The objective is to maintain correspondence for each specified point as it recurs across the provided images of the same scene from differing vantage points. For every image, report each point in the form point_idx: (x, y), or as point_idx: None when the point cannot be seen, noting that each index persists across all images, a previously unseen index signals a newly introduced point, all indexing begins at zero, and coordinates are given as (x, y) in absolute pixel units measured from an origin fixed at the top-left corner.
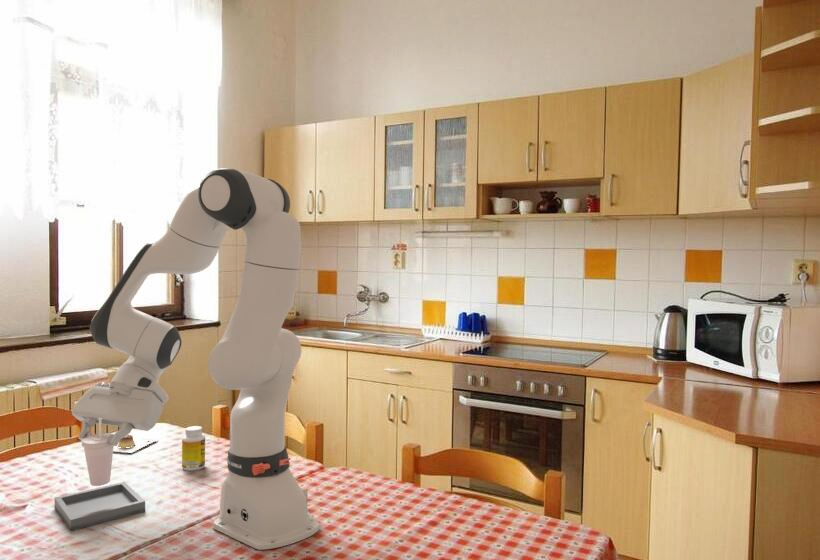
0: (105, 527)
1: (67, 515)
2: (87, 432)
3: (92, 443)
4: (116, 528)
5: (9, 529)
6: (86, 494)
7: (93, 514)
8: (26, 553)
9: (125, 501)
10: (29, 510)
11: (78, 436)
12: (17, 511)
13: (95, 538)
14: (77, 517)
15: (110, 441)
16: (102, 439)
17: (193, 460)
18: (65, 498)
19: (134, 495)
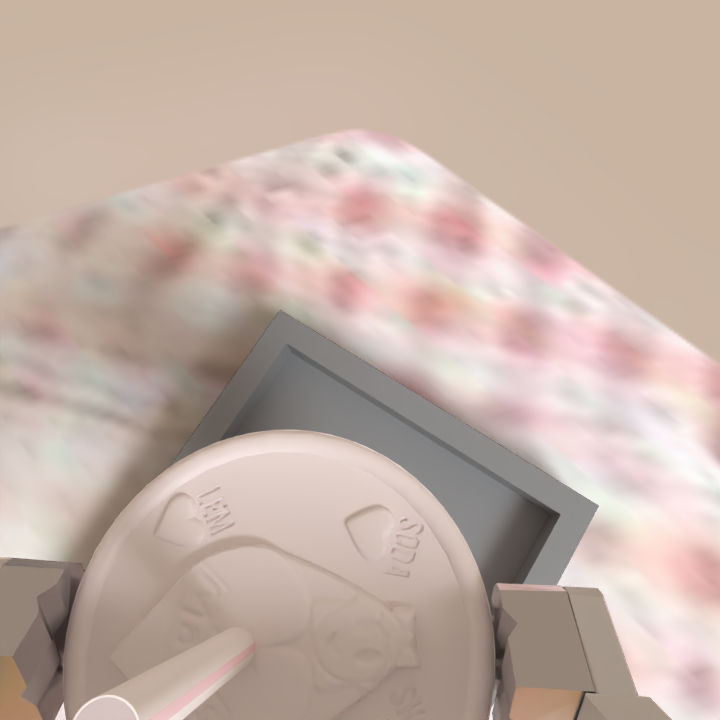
0: (164, 404)
1: (337, 345)
2: (509, 681)
3: (213, 445)
4: (108, 411)
5: (559, 262)
6: None
7: (221, 395)
8: (306, 140)
9: None
10: (671, 442)
11: (589, 589)
12: (715, 414)
13: (135, 307)
14: (269, 341)
15: (10, 560)
16: (169, 595)
17: None
18: (548, 535)
19: None
